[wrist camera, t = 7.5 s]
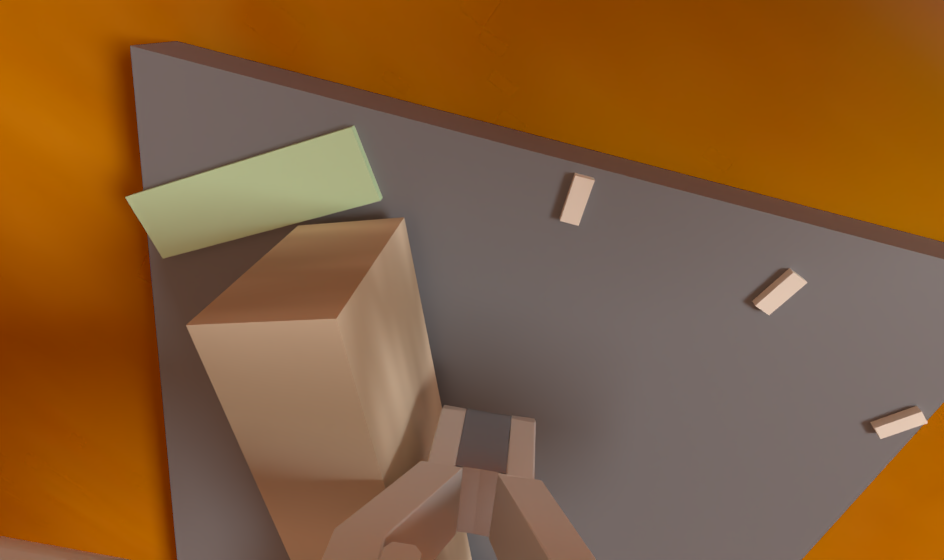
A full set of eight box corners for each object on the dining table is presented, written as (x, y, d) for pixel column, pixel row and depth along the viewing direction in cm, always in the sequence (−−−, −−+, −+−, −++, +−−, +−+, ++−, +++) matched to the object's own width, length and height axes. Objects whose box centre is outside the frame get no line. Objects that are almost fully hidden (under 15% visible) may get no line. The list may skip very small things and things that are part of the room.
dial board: (613, 720, 23) (618, 769, 22) (199, 609, 23) (175, 651, 22) (991, 255, 12) (1056, 291, 10) (163, 37, 12) (107, 42, 10)
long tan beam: (506, 647, 18) (494, 828, 14) (406, 640, 19) (368, 812, 15) (432, 214, 11) (366, 337, 7) (273, 227, 11) (126, 345, 7)
